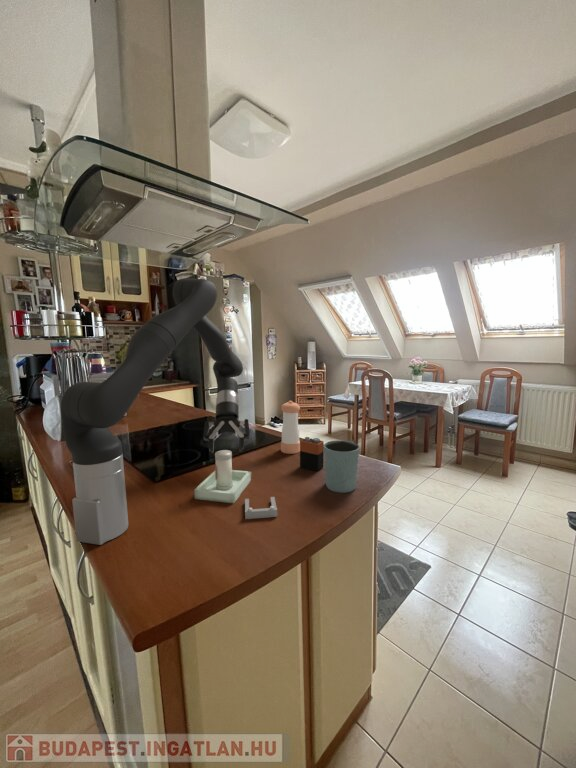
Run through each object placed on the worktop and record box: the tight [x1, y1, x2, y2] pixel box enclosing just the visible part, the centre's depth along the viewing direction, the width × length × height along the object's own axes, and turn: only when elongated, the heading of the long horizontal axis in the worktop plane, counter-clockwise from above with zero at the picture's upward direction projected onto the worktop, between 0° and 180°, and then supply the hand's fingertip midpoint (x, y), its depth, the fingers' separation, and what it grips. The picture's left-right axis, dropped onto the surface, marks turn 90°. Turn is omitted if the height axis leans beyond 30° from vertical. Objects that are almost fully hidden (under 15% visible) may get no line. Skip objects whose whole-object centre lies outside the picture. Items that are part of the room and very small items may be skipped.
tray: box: [193, 469, 252, 504], centre depth 90 cm, size 14×11×3 cm
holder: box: [244, 496, 278, 520], centre depth 79 cm, size 7×8×2 cm
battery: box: [299, 436, 325, 472], centre depth 104 cm, size 4×7×10 cm, turn 57°
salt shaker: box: [280, 400, 301, 455], centre depth 119 cm, size 7×7×19 cm
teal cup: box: [323, 440, 360, 494], centre depth 91 cm, size 10×10×12 cm
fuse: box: [214, 449, 233, 491], centre depth 89 cm, size 5×5×10 cm
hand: (226, 451), depth 97 cm, fingers open, 8 cm apart
